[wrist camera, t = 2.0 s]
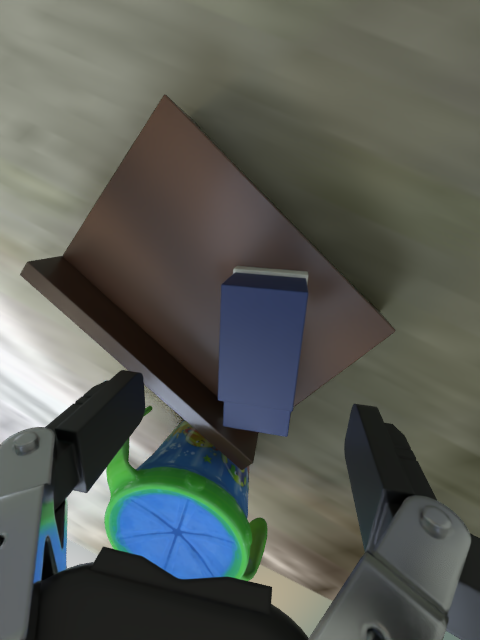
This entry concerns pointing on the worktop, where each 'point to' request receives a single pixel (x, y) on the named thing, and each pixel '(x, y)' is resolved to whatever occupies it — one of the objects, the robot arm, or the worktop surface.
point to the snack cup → (185, 509)
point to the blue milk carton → (260, 347)
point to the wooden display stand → (194, 275)
